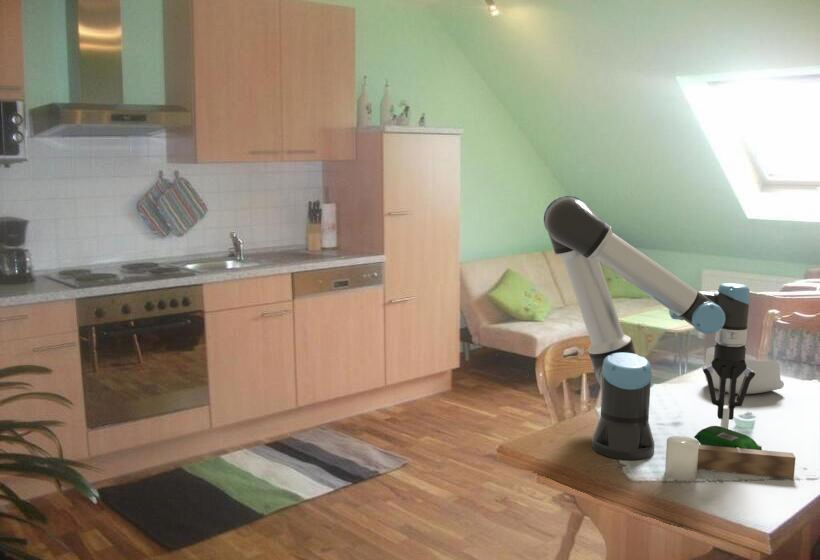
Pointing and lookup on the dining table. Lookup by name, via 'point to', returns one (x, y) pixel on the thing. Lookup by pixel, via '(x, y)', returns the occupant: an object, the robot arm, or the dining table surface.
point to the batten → (746, 461)
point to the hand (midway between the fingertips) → (724, 430)
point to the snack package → (725, 438)
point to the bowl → (761, 382)
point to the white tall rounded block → (681, 457)
